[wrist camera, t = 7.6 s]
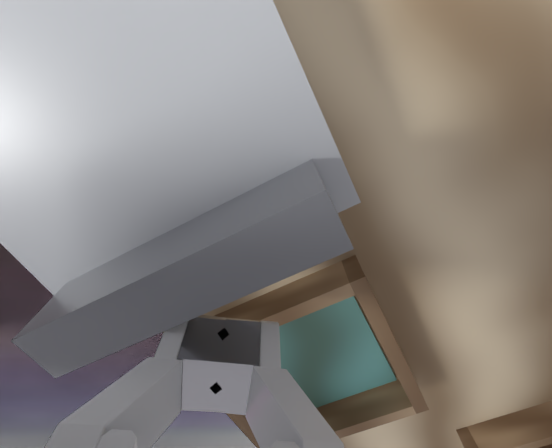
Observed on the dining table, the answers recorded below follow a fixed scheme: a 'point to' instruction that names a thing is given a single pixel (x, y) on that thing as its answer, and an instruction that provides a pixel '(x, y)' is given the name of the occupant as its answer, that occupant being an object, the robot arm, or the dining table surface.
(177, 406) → the robot arm
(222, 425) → the dining table surface
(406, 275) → the board
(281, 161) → the cover
